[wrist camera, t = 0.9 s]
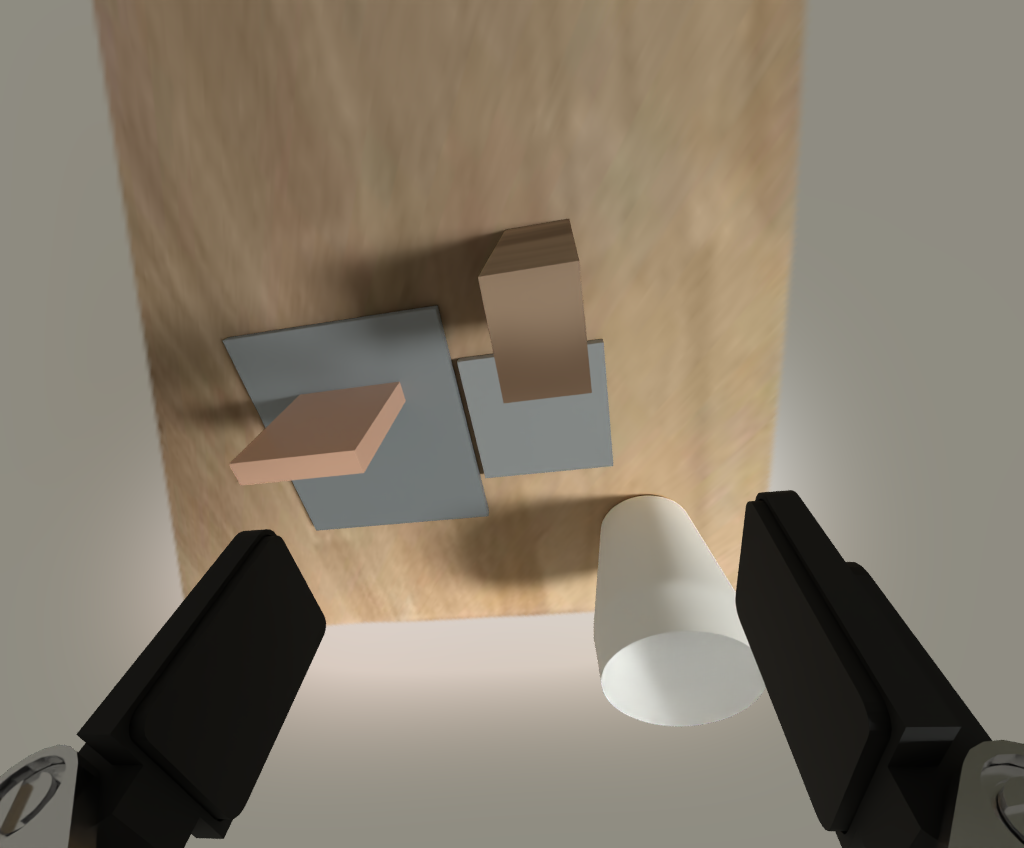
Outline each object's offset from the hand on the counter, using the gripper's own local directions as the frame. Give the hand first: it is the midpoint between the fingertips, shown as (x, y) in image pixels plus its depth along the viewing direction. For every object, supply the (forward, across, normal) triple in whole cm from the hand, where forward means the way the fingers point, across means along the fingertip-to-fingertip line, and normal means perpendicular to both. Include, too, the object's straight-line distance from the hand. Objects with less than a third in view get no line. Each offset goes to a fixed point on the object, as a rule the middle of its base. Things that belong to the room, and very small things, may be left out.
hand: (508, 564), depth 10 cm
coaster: (+21, +1, +8) cm, 22 cm away
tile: (+20, +13, +5) cm, 24 cm away
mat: (+21, +13, +8) cm, 26 cm away
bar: (+21, 0, -1) cm, 21 cm away
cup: (+21, -6, +19) cm, 29 cm away
